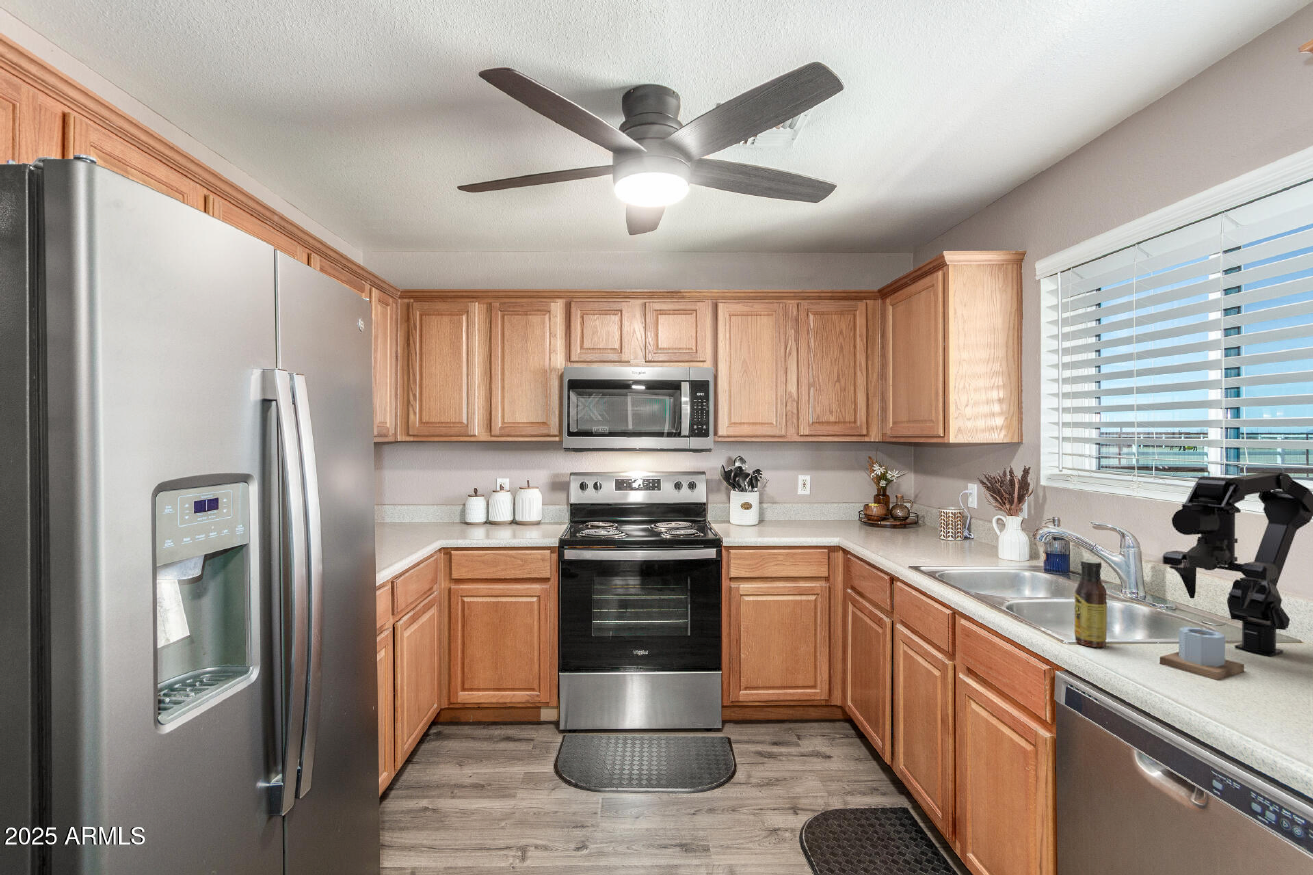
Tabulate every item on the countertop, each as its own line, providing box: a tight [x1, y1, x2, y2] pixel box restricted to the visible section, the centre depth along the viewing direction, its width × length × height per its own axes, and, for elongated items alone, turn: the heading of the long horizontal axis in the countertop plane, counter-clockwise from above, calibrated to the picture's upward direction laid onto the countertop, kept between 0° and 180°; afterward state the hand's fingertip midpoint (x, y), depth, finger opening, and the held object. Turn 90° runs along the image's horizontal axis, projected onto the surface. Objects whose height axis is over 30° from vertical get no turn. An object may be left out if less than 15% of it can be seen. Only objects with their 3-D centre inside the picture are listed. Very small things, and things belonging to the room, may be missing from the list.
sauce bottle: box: [1074, 558, 1108, 649], centre depth 149 cm, size 7×6×20 cm
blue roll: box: [1178, 626, 1226, 667], centre depth 134 cm, size 7×7×6 cm
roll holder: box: [1159, 632, 1245, 681], centre depth 134 cm, size 11×10×8 cm
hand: (1216, 603), depth 141 cm, fingers open, 9 cm apart
